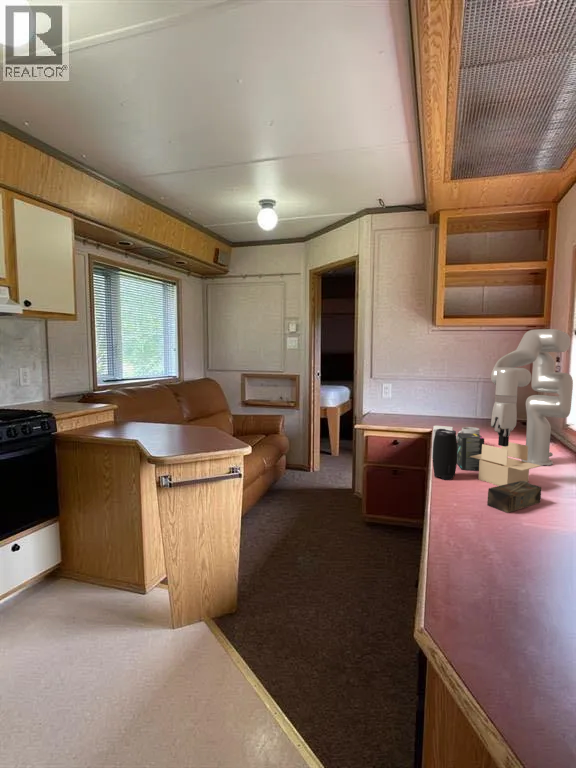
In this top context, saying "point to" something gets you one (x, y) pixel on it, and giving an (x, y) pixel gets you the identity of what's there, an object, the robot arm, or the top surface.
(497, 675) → the top surface
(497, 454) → the flap
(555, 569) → the top surface
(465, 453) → the tampon box
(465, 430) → the mug
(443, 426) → the supplement box
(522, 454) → the flap
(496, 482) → the carton
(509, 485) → the beverage carton
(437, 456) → the portable speaker
